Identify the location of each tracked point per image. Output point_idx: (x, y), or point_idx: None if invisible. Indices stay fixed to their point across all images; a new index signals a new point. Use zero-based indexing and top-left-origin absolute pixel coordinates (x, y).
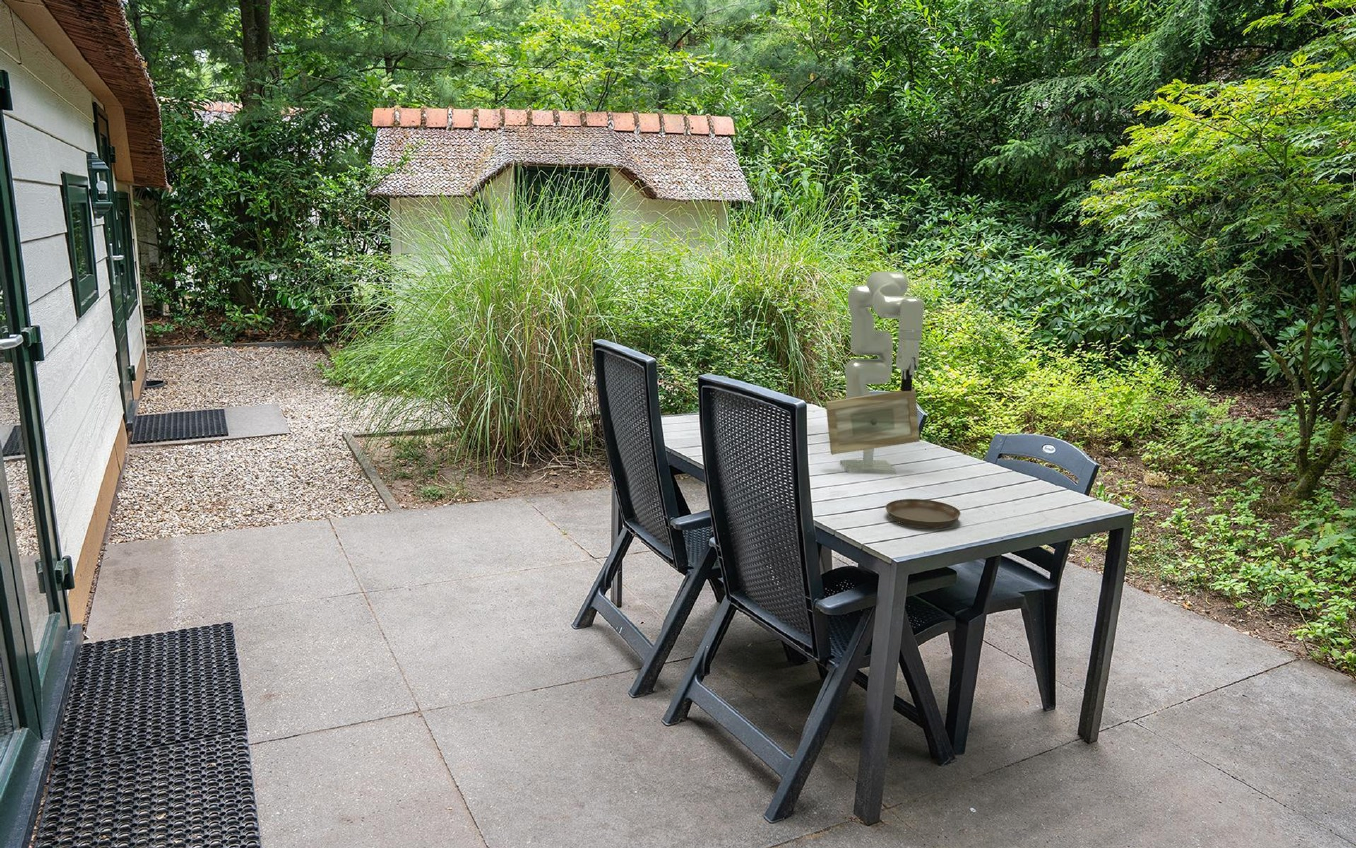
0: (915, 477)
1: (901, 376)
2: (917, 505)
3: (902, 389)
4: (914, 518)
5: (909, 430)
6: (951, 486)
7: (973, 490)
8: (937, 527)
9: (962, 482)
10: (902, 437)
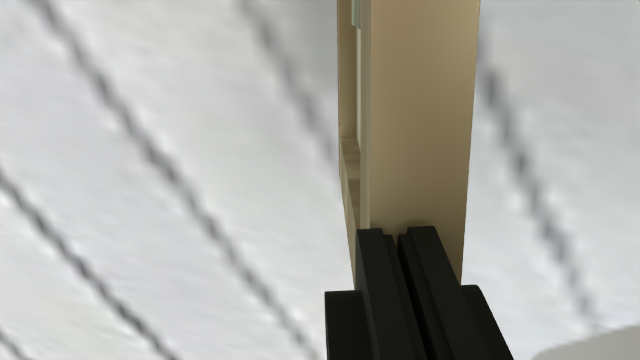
0: (234, 70)
1: None
2: None
3: (358, 240)
4: None
5: (358, 137)
6: (111, 179)
7: (72, 240)
8: None
9: (183, 236)
10: (339, 71)
